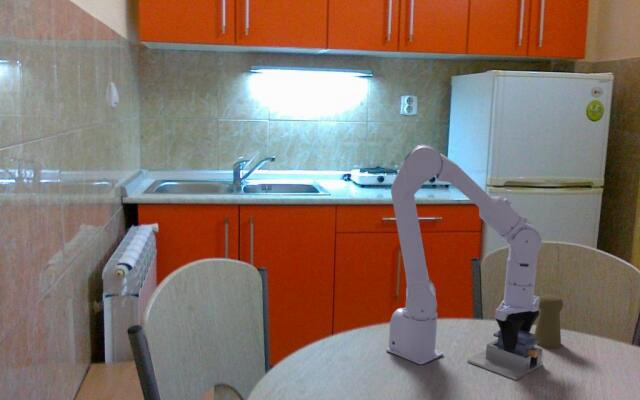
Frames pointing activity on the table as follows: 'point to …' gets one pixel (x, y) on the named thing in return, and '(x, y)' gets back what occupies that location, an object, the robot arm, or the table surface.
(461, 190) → the robot arm
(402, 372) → the table surface
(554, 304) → the cork
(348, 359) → the table surface
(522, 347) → the blue-grey long block
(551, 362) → the table surface
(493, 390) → the table surface
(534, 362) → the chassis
